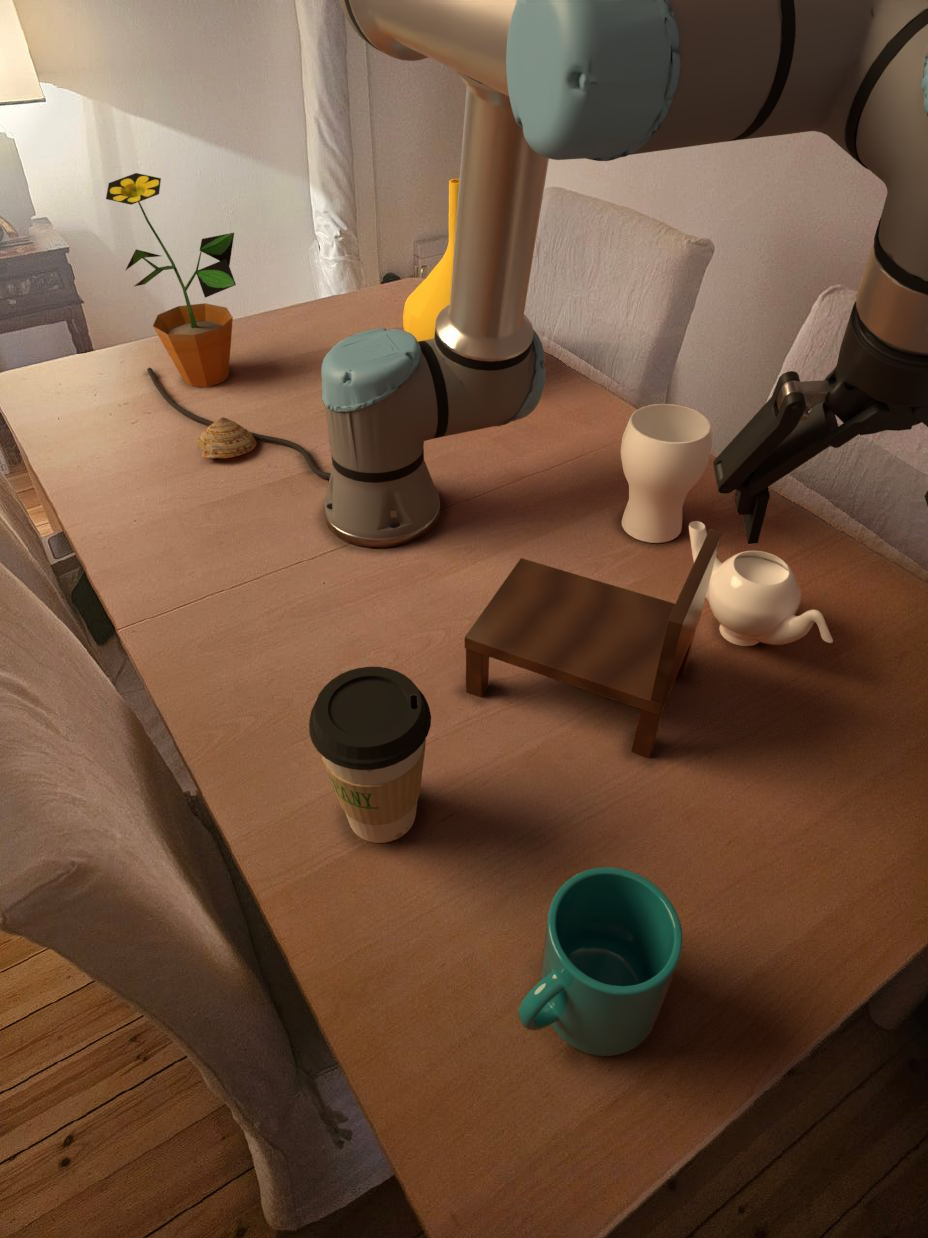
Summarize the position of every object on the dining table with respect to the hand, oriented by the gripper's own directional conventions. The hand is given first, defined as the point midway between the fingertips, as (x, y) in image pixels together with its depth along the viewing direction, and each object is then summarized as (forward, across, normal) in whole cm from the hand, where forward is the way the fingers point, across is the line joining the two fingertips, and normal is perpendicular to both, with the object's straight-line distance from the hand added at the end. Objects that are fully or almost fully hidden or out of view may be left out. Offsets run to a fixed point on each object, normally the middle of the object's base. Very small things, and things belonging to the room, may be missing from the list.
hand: (840, 520), depth 64 cm
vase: (+46, -38, +64) cm, 88 cm away
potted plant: (+38, -81, +64) cm, 110 cm away
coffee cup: (+14, -40, -18) cm, 46 cm away
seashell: (+32, -71, +42) cm, 88 cm away
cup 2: (+36, -11, +23) cm, 44 cm away
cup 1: (+11, -23, -34) cm, 43 cm away
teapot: (+30, -3, +4) cm, 30 cm away
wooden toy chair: (+24, -22, -2) cm, 32 cm away
